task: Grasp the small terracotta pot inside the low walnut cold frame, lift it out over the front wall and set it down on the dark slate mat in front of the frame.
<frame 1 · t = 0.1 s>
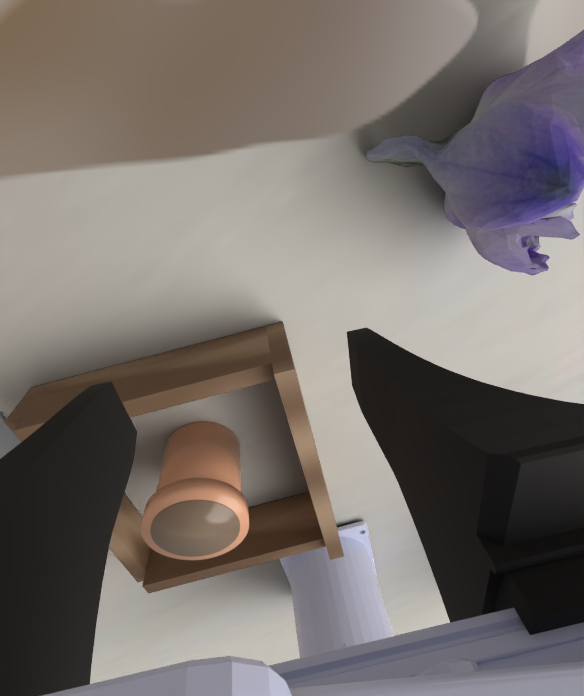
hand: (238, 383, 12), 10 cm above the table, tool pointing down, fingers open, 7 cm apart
cold frame: (203, 450, 26), on the table
flower: (452, 163, 19), on the table
terracotta pot: (203, 449, 26), resting in cold frame
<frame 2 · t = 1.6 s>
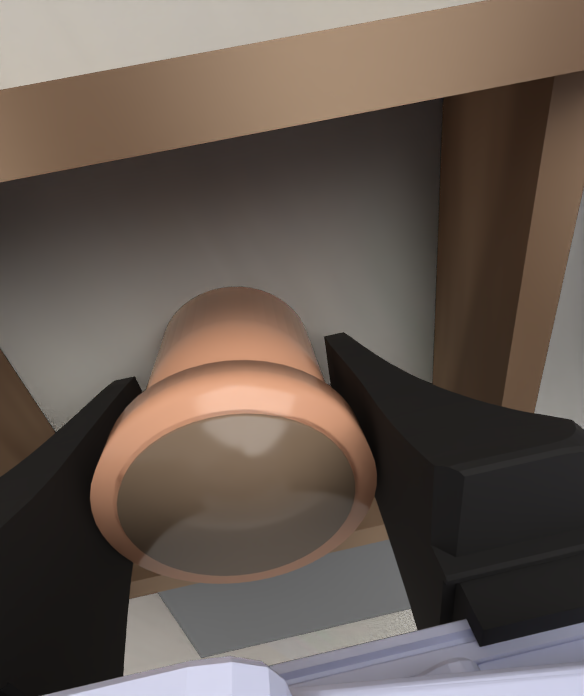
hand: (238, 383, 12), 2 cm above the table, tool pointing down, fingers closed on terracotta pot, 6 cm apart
cold frame: (237, 356, 13), on the table
slate mat: (302, 585, 21), on the table
terracotta pot: (237, 355, 13), resting in cold frame, touching gripper
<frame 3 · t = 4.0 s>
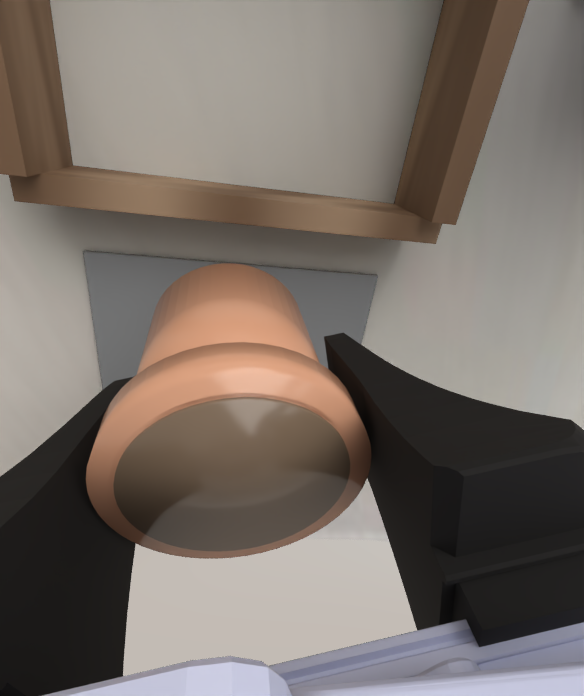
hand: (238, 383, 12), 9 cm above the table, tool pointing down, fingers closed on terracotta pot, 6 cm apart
slate mat: (234, 352, 21), on the table
terracotta pot: (229, 333, 13), point 7 cm above the table, touching gripper
when the fingers open (3 cm above the table, at t = 6.3 s): terracotta pot stays where it is, resting on slate mat.
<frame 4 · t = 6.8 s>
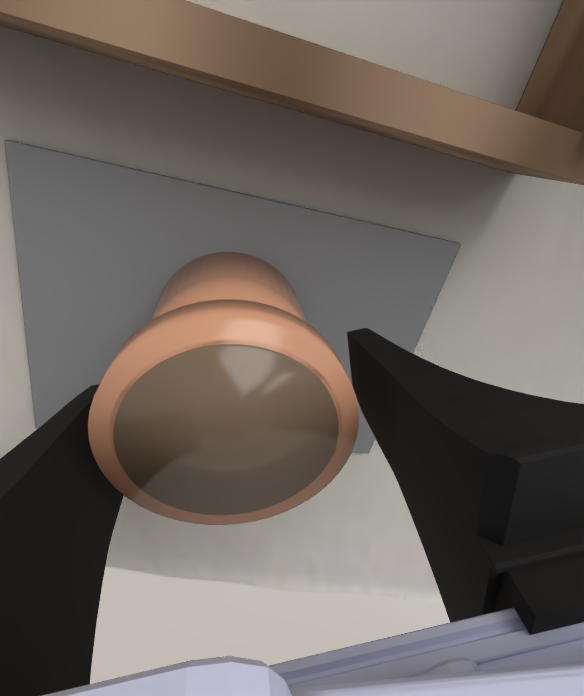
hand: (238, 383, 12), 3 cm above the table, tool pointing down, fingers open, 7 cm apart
slate mat: (237, 338, 14), on the table
terracotta pot: (230, 321, 14), resting on slate mat
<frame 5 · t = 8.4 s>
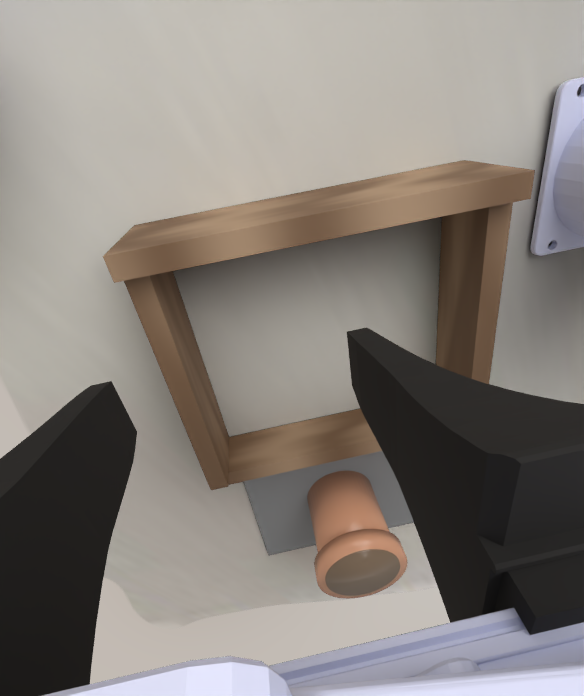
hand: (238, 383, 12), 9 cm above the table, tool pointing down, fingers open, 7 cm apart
cold frame: (320, 329, 22), on the table
slate mat: (344, 496, 30), on the table
terracotta pot: (339, 493, 29), resting on slate mat
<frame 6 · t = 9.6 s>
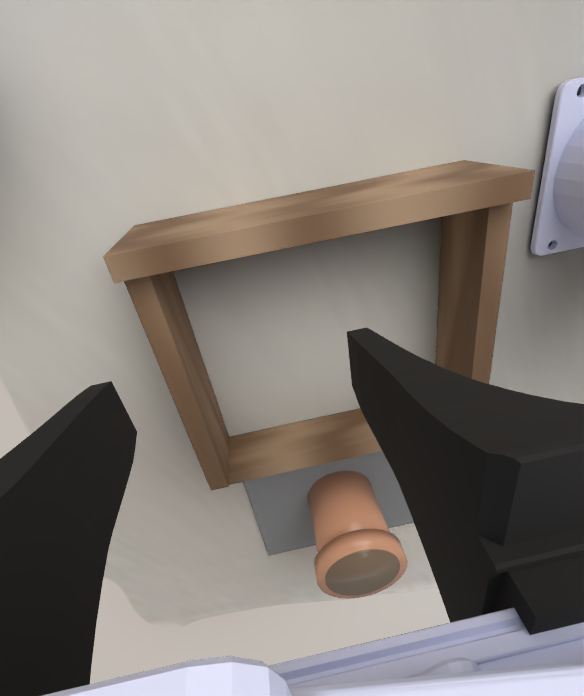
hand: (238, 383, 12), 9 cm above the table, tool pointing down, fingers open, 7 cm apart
cold frame: (320, 329, 22), on the table
slate mat: (344, 496, 30), on the table
terracotta pot: (339, 493, 29), resting on slate mat
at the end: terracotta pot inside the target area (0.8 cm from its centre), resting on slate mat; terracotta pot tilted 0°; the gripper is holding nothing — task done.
